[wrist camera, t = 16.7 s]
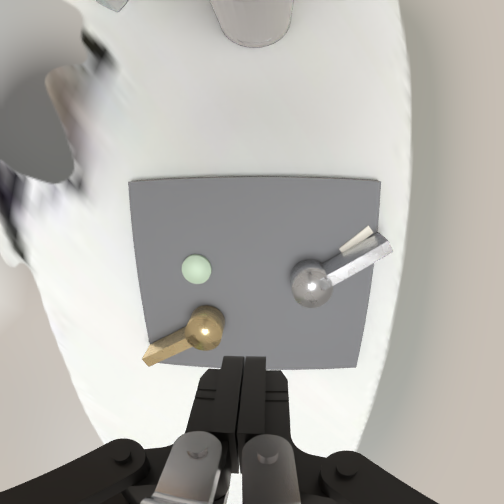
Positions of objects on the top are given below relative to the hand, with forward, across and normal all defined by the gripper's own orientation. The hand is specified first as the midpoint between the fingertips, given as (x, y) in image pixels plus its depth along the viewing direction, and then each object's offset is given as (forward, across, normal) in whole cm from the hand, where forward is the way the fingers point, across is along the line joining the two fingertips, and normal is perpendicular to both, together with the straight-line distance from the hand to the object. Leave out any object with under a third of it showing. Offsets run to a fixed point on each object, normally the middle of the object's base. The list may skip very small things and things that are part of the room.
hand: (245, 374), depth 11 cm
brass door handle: (+30, +11, +18) cm, 37 cm away
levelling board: (+32, +1, +10) cm, 33 cm away
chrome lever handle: (+30, -10, +7) cm, 32 cm away
